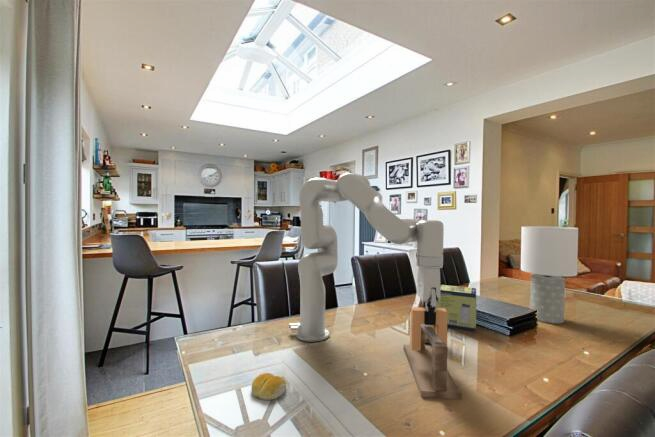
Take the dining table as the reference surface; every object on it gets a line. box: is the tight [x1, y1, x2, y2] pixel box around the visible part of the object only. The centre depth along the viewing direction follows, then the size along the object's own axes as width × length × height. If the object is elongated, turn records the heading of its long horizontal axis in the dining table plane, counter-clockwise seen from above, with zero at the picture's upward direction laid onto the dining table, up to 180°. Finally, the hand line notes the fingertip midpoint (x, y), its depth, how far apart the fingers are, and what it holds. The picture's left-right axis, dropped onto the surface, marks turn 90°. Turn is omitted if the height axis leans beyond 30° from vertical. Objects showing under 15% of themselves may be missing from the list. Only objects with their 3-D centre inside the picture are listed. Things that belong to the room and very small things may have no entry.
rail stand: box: [403, 324, 462, 400], centre depth 92 cm, size 10×28×13 cm, turn 175°
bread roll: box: [251, 372, 287, 401], centre depth 81 cm, size 8×9×4 cm
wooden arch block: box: [409, 306, 448, 351], centre depth 92 cm, size 10×3×12 cm, turn 85°
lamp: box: [520, 225, 579, 325], centre depth 138 cm, size 21×21×42 cm
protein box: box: [436, 284, 477, 333], centre depth 130 cm, size 10×16×16 cm
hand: (428, 321), depth 92 cm, fingers closed on wooden arch block, 3 cm apart
